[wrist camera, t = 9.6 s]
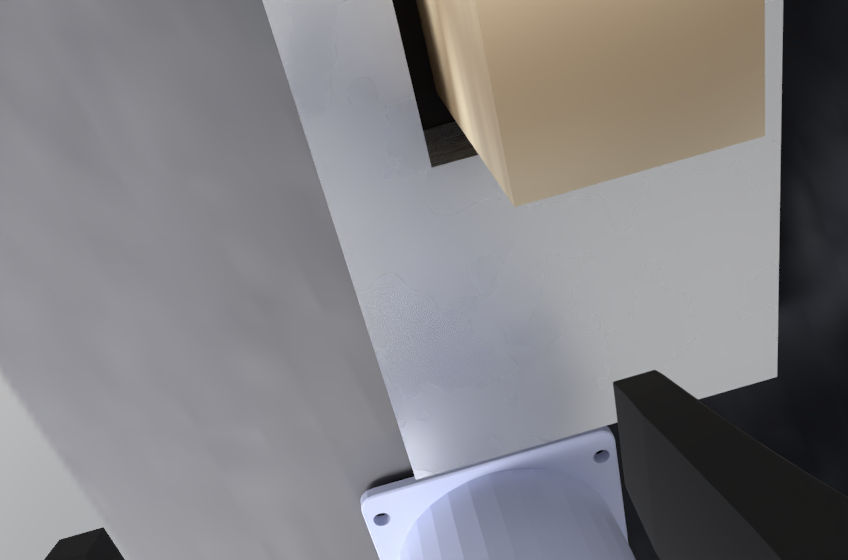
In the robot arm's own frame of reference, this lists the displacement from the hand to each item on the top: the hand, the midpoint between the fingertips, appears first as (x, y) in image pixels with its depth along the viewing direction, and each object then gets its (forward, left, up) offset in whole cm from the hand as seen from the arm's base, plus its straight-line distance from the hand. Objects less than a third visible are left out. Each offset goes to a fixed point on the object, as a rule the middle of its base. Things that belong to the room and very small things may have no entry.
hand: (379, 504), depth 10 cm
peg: (+5, -5, -10) cm, 12 cm away
